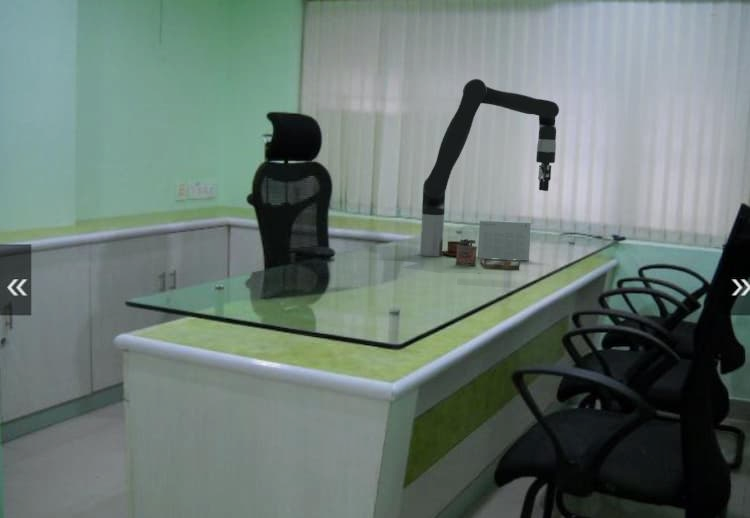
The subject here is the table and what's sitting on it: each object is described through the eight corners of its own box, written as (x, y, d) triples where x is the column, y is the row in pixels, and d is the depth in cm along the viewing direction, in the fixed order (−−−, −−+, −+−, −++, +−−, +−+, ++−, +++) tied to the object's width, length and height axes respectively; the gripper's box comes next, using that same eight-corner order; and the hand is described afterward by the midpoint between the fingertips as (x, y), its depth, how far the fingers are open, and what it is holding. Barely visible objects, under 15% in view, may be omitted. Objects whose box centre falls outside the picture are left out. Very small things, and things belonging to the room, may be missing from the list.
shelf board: (484, 268, 307) (485, 258, 307) (480, 263, 324) (480, 254, 323) (519, 269, 307) (520, 260, 307) (513, 264, 324) (513, 255, 323)
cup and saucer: (472, 258, 341) (473, 244, 340) (443, 257, 340) (444, 242, 339) (467, 255, 353) (468, 241, 352) (439, 254, 352) (440, 240, 351)
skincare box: (527, 260, 345) (530, 222, 343) (528, 261, 340) (531, 223, 338) (477, 257, 347) (479, 219, 345) (477, 258, 342) (479, 220, 340)
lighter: (454, 264, 314) (455, 238, 313) (457, 264, 317) (459, 238, 316) (474, 266, 311) (475, 240, 310) (477, 266, 314) (478, 239, 313)
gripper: (534, 151, 345) (531, 189, 347) (540, 150, 331) (537, 190, 333) (552, 151, 345) (549, 190, 347) (558, 151, 331) (555, 191, 333)
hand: (543, 190), depth 340 cm, fingers open, 8 cm apart
